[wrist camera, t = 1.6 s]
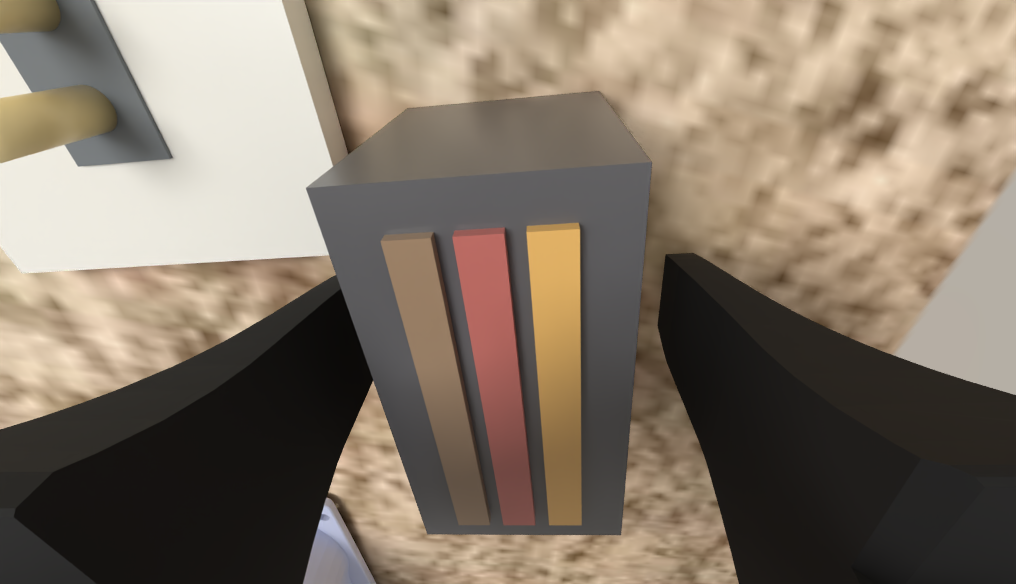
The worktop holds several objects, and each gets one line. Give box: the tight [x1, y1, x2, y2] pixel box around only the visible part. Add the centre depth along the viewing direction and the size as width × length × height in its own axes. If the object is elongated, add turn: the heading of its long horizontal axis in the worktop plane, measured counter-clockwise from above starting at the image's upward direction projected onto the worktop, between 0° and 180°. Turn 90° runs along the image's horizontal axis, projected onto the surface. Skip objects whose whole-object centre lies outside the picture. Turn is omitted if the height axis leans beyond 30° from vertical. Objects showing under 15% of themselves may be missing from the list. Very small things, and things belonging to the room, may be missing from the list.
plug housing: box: [306, 91, 652, 535], centre depth 10 cm, size 8×4×6 cm, turn 5°
